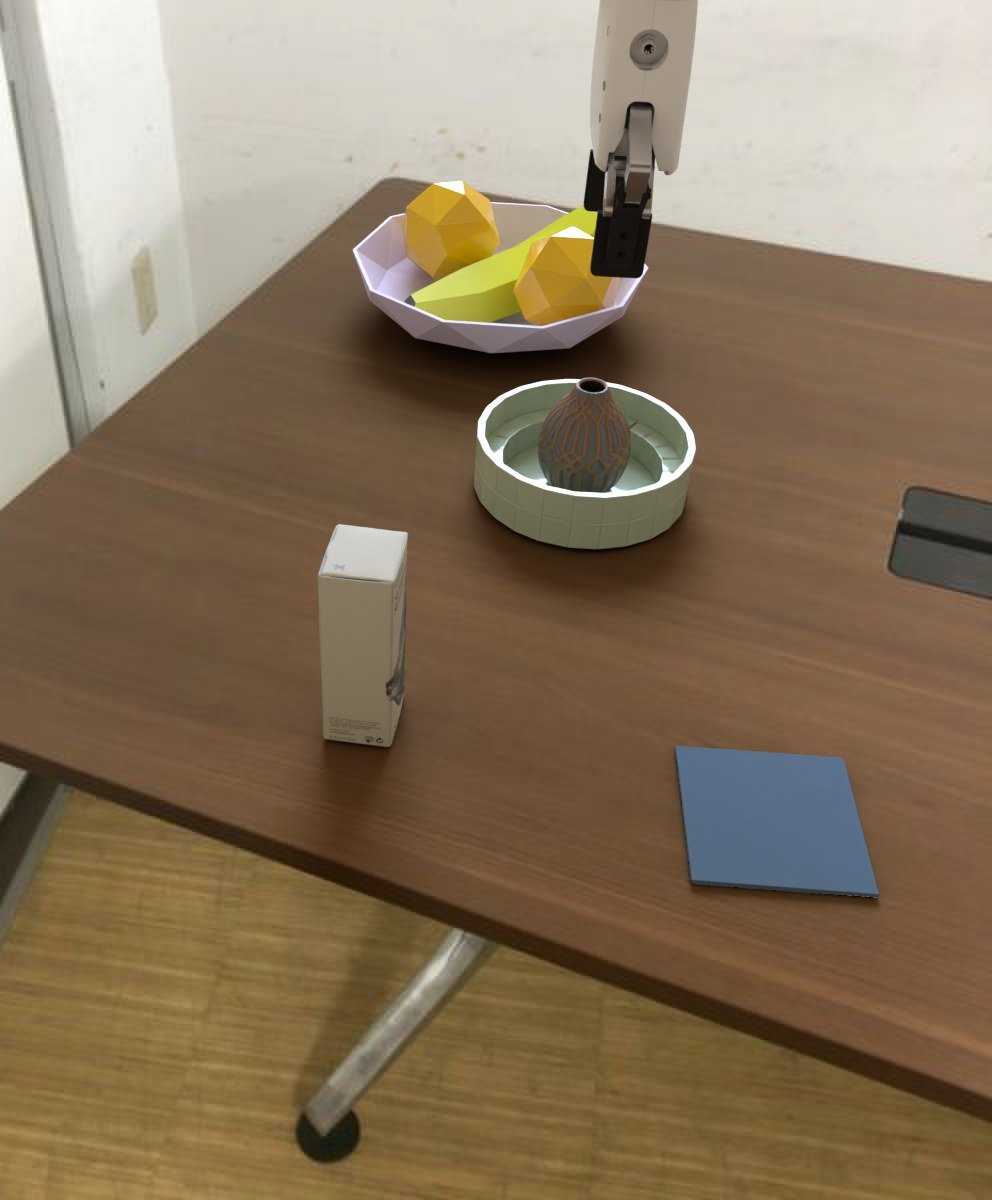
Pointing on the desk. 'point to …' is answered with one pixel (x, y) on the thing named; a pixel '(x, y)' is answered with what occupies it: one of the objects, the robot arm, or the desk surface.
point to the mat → (772, 822)
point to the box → (363, 634)
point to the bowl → (573, 517)
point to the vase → (585, 439)
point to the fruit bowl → (490, 273)
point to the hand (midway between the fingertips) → (611, 241)
